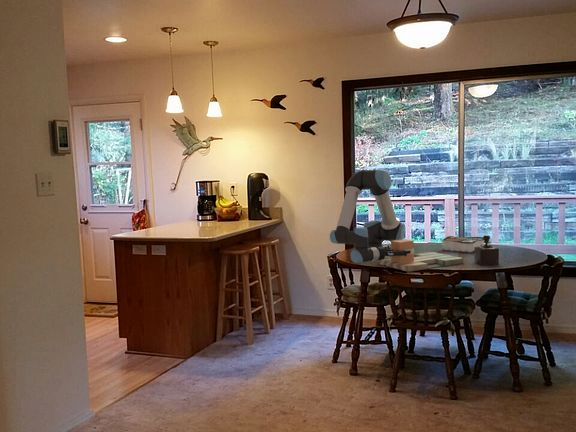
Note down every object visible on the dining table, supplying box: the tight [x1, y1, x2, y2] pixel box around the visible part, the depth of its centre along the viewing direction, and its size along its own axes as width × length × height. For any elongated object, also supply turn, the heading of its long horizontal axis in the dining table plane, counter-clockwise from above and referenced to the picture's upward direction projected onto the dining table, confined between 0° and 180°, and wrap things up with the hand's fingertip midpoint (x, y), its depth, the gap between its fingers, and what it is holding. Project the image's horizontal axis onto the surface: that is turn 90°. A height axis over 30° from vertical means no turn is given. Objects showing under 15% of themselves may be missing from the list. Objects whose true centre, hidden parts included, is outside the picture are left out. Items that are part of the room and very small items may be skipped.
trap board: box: [378, 251, 464, 273], centre depth 329 cm, size 28×40×3 cm
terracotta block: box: [390, 238, 415, 263], centre depth 322 cm, size 8×10×12 cm
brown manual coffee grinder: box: [473, 234, 500, 266], centre depth 318 cm, size 16×11×18 cm
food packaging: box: [438, 235, 485, 253], centre depth 371 cm, size 25×8×23 cm
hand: (406, 249), depth 324 cm, fingers open, 13 cm apart
